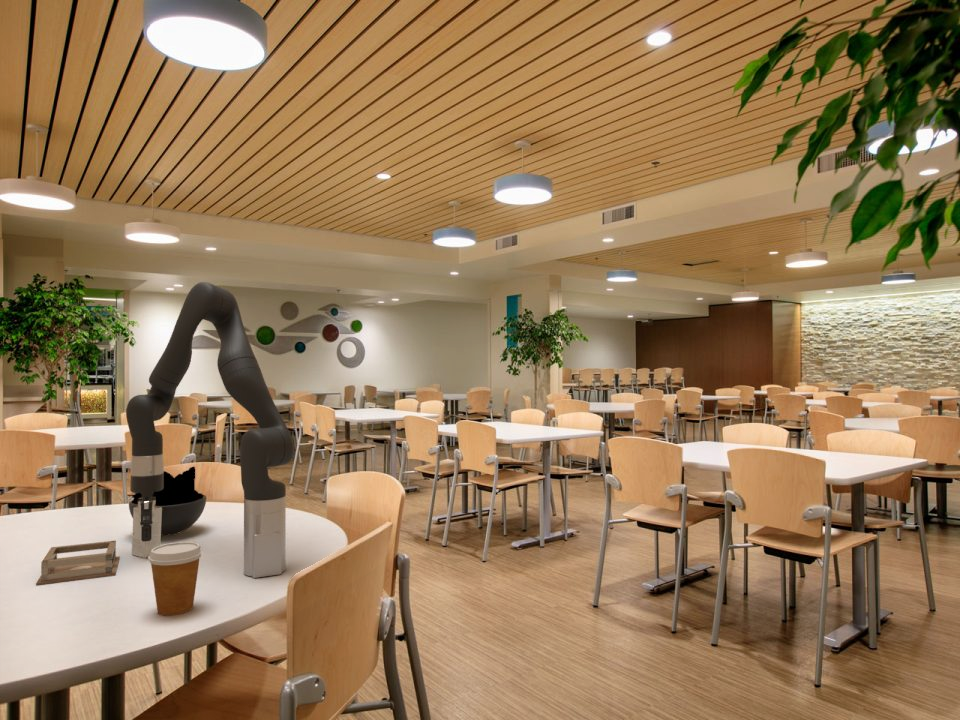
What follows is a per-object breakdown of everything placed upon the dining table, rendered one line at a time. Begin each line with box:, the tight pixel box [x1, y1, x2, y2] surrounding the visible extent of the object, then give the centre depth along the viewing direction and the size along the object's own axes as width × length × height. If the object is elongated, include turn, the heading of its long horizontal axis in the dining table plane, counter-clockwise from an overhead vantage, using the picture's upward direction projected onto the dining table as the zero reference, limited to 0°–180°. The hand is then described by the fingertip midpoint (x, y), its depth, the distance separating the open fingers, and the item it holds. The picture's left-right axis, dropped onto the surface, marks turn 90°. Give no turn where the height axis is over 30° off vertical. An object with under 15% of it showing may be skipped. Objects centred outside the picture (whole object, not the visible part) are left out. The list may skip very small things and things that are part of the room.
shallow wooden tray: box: [40, 540, 117, 581], centre depth 148 cm, size 13×13×4 cm
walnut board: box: [35, 555, 121, 586], centre depth 148 cm, size 15×15×1 cm
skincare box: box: [131, 506, 162, 559], centre depth 161 cm, size 6×4×12 cm
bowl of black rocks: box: [128, 466, 207, 536], centre depth 181 cm, size 20×20×19 cm
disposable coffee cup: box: [147, 541, 203, 616], centre depth 124 cm, size 10×10×12 cm
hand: (146, 537), depth 161 cm, fingers closed on skincare box, 7 cm apart
